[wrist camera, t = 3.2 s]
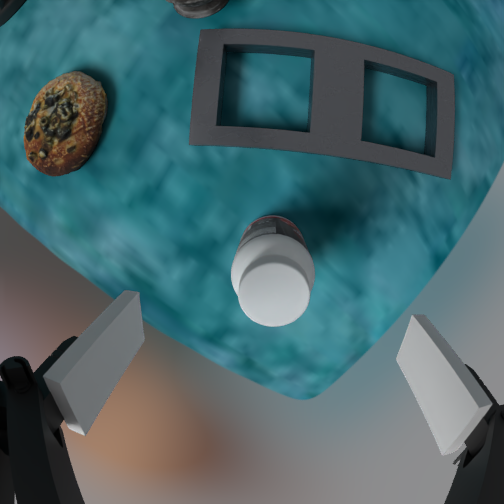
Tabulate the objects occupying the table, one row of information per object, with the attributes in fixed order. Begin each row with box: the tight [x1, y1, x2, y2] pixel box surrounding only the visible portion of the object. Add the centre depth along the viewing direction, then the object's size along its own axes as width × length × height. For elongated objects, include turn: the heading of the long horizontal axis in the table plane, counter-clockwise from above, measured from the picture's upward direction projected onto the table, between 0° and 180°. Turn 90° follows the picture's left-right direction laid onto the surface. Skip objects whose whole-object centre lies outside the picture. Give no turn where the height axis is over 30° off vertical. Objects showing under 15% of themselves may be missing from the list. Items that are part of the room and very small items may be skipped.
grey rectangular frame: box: [189, 29, 455, 179], centre depth 20 cm, size 22×10×2 cm, turn 86°
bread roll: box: [24, 71, 108, 176], centre depth 20 cm, size 11×11×5 cm
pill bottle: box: [231, 215, 315, 327], centre depth 20 cm, size 5×5×10 cm
